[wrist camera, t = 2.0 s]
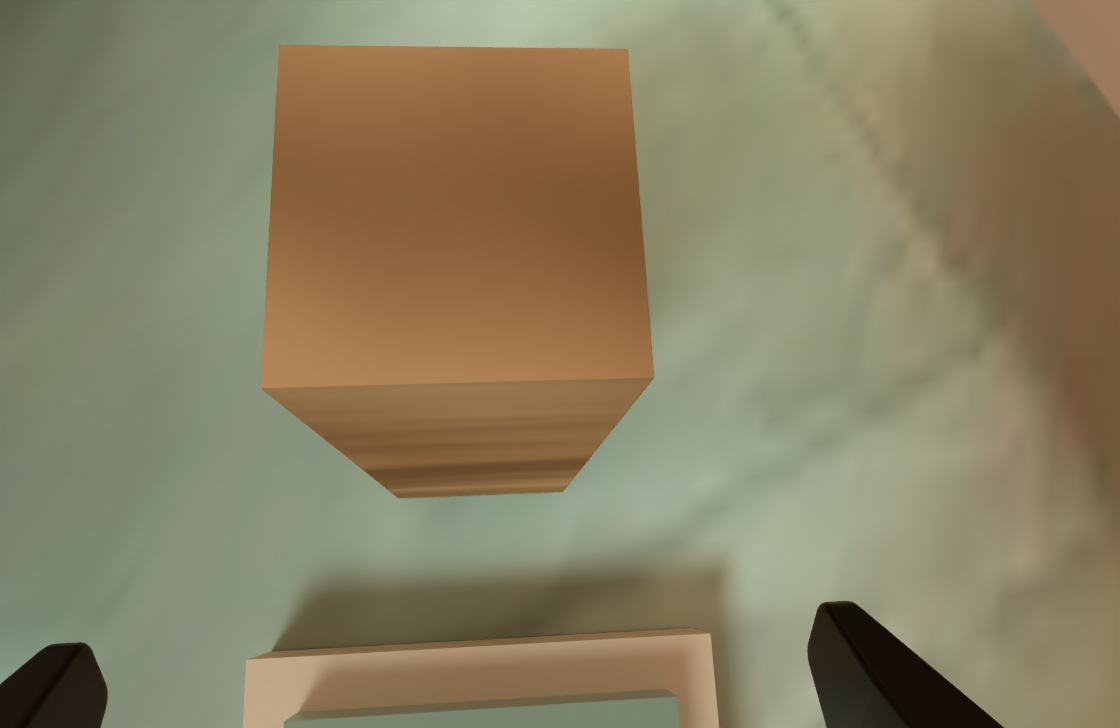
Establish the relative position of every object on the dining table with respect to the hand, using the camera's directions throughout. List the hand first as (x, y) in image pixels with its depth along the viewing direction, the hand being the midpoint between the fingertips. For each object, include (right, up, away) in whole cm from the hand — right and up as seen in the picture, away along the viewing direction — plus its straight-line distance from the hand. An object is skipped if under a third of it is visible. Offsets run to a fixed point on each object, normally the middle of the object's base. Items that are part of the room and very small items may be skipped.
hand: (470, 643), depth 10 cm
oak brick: (-1, +2, +12) cm, 13 cm away
